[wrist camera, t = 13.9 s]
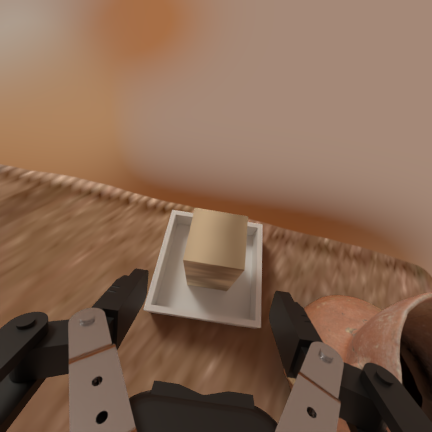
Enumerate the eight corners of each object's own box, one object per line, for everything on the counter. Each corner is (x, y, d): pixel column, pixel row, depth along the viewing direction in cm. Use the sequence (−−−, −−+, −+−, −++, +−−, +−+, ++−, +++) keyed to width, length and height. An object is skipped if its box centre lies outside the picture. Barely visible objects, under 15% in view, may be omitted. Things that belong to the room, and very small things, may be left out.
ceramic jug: (266, 454, 18) (421, 714, 6) (264, 290, 26) (333, 257, 13) (448, 471, 19) (910, 730, 7) (396, 308, 26) (577, 291, 14)
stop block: (187, 284, 24) (182, 259, 16) (194, 246, 27) (194, 207, 18) (227, 291, 24) (244, 269, 16) (231, 252, 27) (248, 216, 18)
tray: (150, 312, 23) (143, 309, 20) (174, 222, 29) (172, 209, 26) (252, 328, 23) (261, 328, 20) (255, 235, 30) (262, 224, 27)
